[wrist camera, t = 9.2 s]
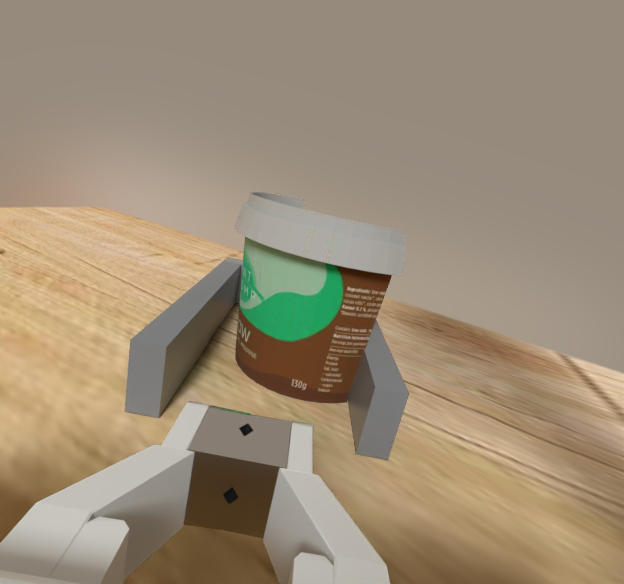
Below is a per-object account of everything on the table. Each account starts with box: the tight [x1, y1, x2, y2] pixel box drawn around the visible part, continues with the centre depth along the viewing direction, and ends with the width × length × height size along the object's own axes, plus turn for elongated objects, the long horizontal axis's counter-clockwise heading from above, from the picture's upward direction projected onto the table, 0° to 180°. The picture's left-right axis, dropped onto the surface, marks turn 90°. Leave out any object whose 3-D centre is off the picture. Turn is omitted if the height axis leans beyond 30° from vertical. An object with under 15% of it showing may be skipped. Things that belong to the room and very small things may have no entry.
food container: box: [235, 192, 406, 403], centre depth 22 cm, size 12×6×10 cm, turn 25°
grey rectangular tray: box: [125, 257, 409, 460], centre depth 25 cm, size 12×18×4 cm, turn 178°
